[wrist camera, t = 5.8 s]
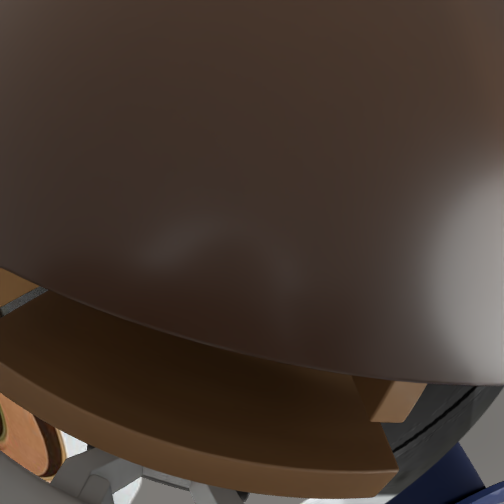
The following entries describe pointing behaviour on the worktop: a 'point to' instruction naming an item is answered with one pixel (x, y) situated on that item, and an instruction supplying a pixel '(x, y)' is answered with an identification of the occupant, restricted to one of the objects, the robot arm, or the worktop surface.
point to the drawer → (197, 403)
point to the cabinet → (266, 175)
